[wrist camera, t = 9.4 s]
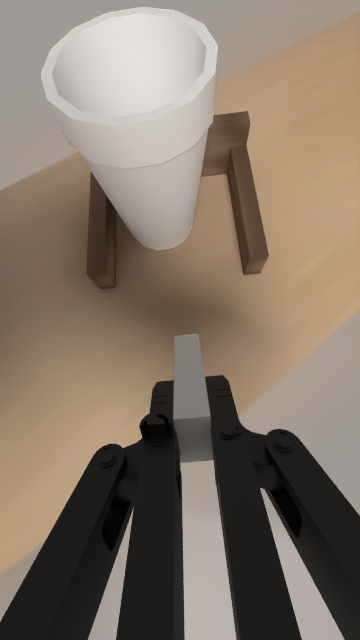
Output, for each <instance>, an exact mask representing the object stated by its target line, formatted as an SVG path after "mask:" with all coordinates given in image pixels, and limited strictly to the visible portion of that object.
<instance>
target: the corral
mask: <svg viewBox="0 0 360 640" xmlns="http://www.w3.org/2000/svg"><path fill="white" fill-rule="evenodd" d="M249 128H250V119H249V115H248V111H245V112H237V113H229V114H221V115H213V122H212V124H211V125H210V126H209V128H208V134H207V140H206V147H205V153H204V159H203V165H202V171H201V177H202V176H211V175H219V174H227V177H228V183H229V189H230V195H231V201H232V207H233V213H234V219H235V225H236V231H237V237H238V243H239V249H240V255H241V261H242V267H243V273H244V275H247V274H257V273H261V270H262V268H263V266H264V264H265V262H266V260H267V258H268V256H269V254H268V249H267V244H266V239H265V235H264V230H263V225H262V220H261V215H260V210H259V205H258V200H257V195H256V190H255V185H254V181H253V176H252V171H251V166H250V161H249V156H248V151H247V146H246V144H247V139H248V133H249ZM87 275H88V276H89V277H90V278H91V279H92V280H93V282H94V283H95V284H96V285H97V286H98V287H99V288H100V289H102V288H113V287H116V209H115V207H114V206H113V204H112V203H111V201H110V200H109V198H108V197H107V195H106V194H105V192H104V190H103V189H102V187H101V186H100V184H99V183H98V181H97V180H96V178H95V177H94V175H93V173H92V172H91V183H90V207H89V230H88V253H87Z"/></svg>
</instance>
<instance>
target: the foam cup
mask: <svg viewBox="0 0 360 640" xmlns="http://www.w3.org/2000/svg"><path fill="white" fill-rule="evenodd" d="M217 57H218V45H217V43H216V42H215V40H214V39H213V37H212V36H211V34H210V33H209V31H208V30H207V28H206V27H205V25H204V24H203V23H201V22H199V21H197V20H195V19H193V18H191V17H189V16H187V15H185V14H183V13H181V12H178V11H176V10H167V9H158V8H149V7H139V8H132V9H126V10H121V11H115V12H109V13H105V14H103V15H101V16H99V17H96V18H94V19H92V20H90V21H88V22H85V23H83V24H81V25H79V26H77V27H75V28H73V29H72V30H71V31H70V32H69V33H68V34H67V35H66V36H65V37H63V38H62V39H61V40H60V41H59V42H58V43H57V44H56V45H55V46H54V47H53V48H52V49H51V50H50V52H49V55H48V57H47V60H46V63H45V65H44V67H43V70H42V73H41V79H42V82H43V86H44V89H45V93H46V97H47V100H48V102H49V104H50V106H51V108H52V110H53V112H54V114H55V116H56V118H57V120H58V122H59V124H60V126H61V128H62V130H63V132H64V134H65V136H66V138H67V140H68V142H69V144H70V145H71V146H73V147H74V148H75V149H76V150H78V152H79V153H80V155H81V156H82V158H83V160H84V161H85V163H86V164H87V166H88V167H89V169H90V170H91V172H92V173H93V175H94V177H95V178H96V180H97V181H98V183H99V184H100V186H101V187H102V189H103V190H104V192H105V194H106V195H107V197H108V198H109V200H110V201H111V203H112V204H113V206H114V207H115V209H116V211H117V212H118V214H119V215H120V217H121V218H122V220H123V221H124V223H125V224H126V226H127V228H128V229H129V231H130V232H131V234H132V235H133V236H134V238H135V239H136V240H137V241H138V242H139V243H140V244H141V245H143V246H144V247H146V248H150V249H153V250H157V251H159V250H166V249H172V248H174V247H176V246H178V245H179V244H181V243H183V242H184V241H185V240H186V238H187V237H188V235H189V234H190V233H191V231H192V227H193V221H194V215H195V209H196V202H197V196H198V190H199V184H200V178H201V171H202V165H203V159H204V153H205V147H206V140H207V134H208V128H209V126H210V125H211V124H212V122H213V115H214V105H215V93H216V75H217Z"/></svg>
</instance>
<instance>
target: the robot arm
mask: <svg viewBox="0 0 360 640" xmlns="http://www.w3.org/2000/svg"><path fill="white" fill-rule="evenodd" d="M139 427H140V430H141V434H142V439H141V440H139V441H138V442H137V443H135V444H133V445H130V446H127V447H125V448H122V447H121V446H120V445H117V444H108V445H105V446H103V447H102V448H100V449H99V450H97V452H96V453H95V454H94V456H93V457H92V459H91V461H90V462H89V464H88V466H87V468H86V470H85V471H84V473H83V475H82V477H81V478H80V480H79V482H78V484H77V486H76V487H75V489H74V491H73V493H72V495H71V496H70V498H69V500H68V502H67V504H66V505H65V507H64V509H63V511H62V512H61V514H60V516H59V518H58V520H57V521H56V523H55V525H54V527H53V529H52V530H51V532H50V534H49V536H48V538H47V539H46V541H45V543H44V545H43V546H42V548H41V550H40V552H39V554H38V555H37V558H36V559H35V561H34V563H33V564H32V566H31V568H30V570H29V572H28V573H27V575H26V577H25V579H24V580H23V582H22V584H21V586H20V588H19V589H18V591H17V593H16V595H15V597H14V599H13V600H12V602H11V604H10V606H9V607H8V609H7V611H6V613H5V614H4V616H3V618H2V620H1V622H0V640H88V637H89V634H90V631H91V629H92V625H93V622H94V620H95V617H96V614H97V611H98V608H99V605H100V603H101V599H102V597H103V594H104V591H105V588H106V585H107V582H108V579H109V577H110V574H111V571H112V568H113V565H114V562H115V559H116V556H117V554H118V551H119V548H120V545H121V542H122V539H123V536H124V533H125V530H126V528H127V524H128V522H129V519H130V516H131V513H132V510H133V507H134V510H133V518H132V525H131V532H130V540H129V548H128V555H127V562H126V570H125V577H124V585H123V592H122V600H121V607H120V614H119V623H118V629H117V637H116V640H184V590H183V587H184V586H183V532H182V531H183V530H182V479H181V470H180V462H181V463H183V462H195V461H208V460H214V467H215V480H216V485H217V492H218V500H219V508H220V515H221V523H222V530H223V537H224V546H225V554H226V561H227V568H228V576H229V584H230V591H231V599H232V607H233V615H234V622H235V630H236V638H237V640H302V639H301V636H300V632H299V628H298V625H297V621H296V617H295V614H294V610H293V606H292V603H291V599H290V595H289V592H288V588H287V585H286V581H285V577H284V574H283V570H282V567H281V563H280V559H279V556H278V552H277V548H276V545H275V541H274V537H273V534H272V530H271V526H270V523H269V519H268V516H267V512H266V508H265V505H264V501H263V497H262V494H261V491H260V488H263V489H265V491H266V493H267V495H268V497H269V499H270V500H271V502H272V504H273V506H274V508H275V510H276V511H277V513H278V515H279V517H280V519H281V521H282V523H283V525H284V527H285V528H286V530H287V532H288V534H289V536H290V538H291V540H292V542H293V544H294V545H295V547H296V549H297V551H298V553H299V555H300V557H301V558H302V560H303V562H304V564H305V566H306V568H307V570H308V571H309V573H310V575H311V577H312V579H313V581H314V583H315V585H316V587H317V588H318V590H319V592H320V594H321V596H322V598H323V600H324V602H325V603H326V605H327V607H328V609H329V611H330V613H331V615H332V617H333V618H334V620H335V622H336V624H337V626H338V628H339V630H340V632H341V633H342V635H343V637H344V639H345V640H360V516H359V514H358V513H357V512H356V511H355V509H354V508H353V507H352V506H351V504H350V503H349V502H348V501H347V499H346V498H345V497H344V495H343V494H342V493H341V492H340V490H339V489H338V488H337V486H336V485H335V484H334V483H333V481H332V480H331V479H330V478H329V477H328V475H327V474H326V473H325V471H324V470H323V469H322V467H321V466H320V465H319V464H318V462H317V461H316V460H315V459H314V457H313V456H312V455H311V454H310V452H309V451H308V450H307V449H306V447H305V446H304V445H303V443H302V442H301V441H300V440H299V439H298V437H296V436H295V435H294V434H293V433H291V432H289V431H287V430H282V429H275V430H272V431H270V432H269V433H268V434H267V435H262V434H257V433H254V432H251V431H249V430H247V429H246V428H244V427H243V426H242V424H241V423H240V421H239V418H238V415H237V411H236V407H235V404H234V400H233V397H232V392H231V389H230V385H229V381H228V380H227V379H226V378H225V377H224V376H223V375H219V376H208V377H205V375H204V368H203V361H202V354H201V348H200V341H199V334H198V333H197V334H187V335H177V336H175V345H174V380H172V381H162V382H157V383H156V385H155V386H154V388H153V390H152V398H151V406H150V414H148V415H146V416H145V417H144V418H143V419H142V420H141V423H140V425H139Z"/></svg>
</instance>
